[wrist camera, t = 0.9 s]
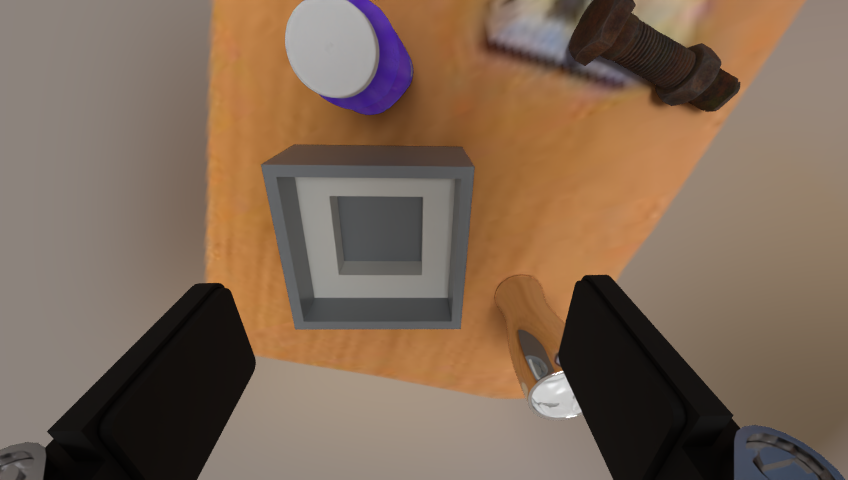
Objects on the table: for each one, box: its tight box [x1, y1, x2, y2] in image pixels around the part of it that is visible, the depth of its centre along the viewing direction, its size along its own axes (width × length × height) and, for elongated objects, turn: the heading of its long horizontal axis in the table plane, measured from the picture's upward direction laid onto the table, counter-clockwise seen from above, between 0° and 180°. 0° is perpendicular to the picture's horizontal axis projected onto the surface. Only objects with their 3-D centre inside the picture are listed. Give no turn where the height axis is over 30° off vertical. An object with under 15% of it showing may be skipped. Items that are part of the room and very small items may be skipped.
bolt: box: [569, 0, 740, 112], centre depth 29 cm, size 6×5×15 cm
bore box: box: [261, 145, 475, 329], centre depth 34 cm, size 17×17×8 cm
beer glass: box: [495, 275, 583, 420], centre depth 36 cm, size 7×7×15 cm
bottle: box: [285, 0, 413, 115], centre depth 22 cm, size 7×6×17 cm
